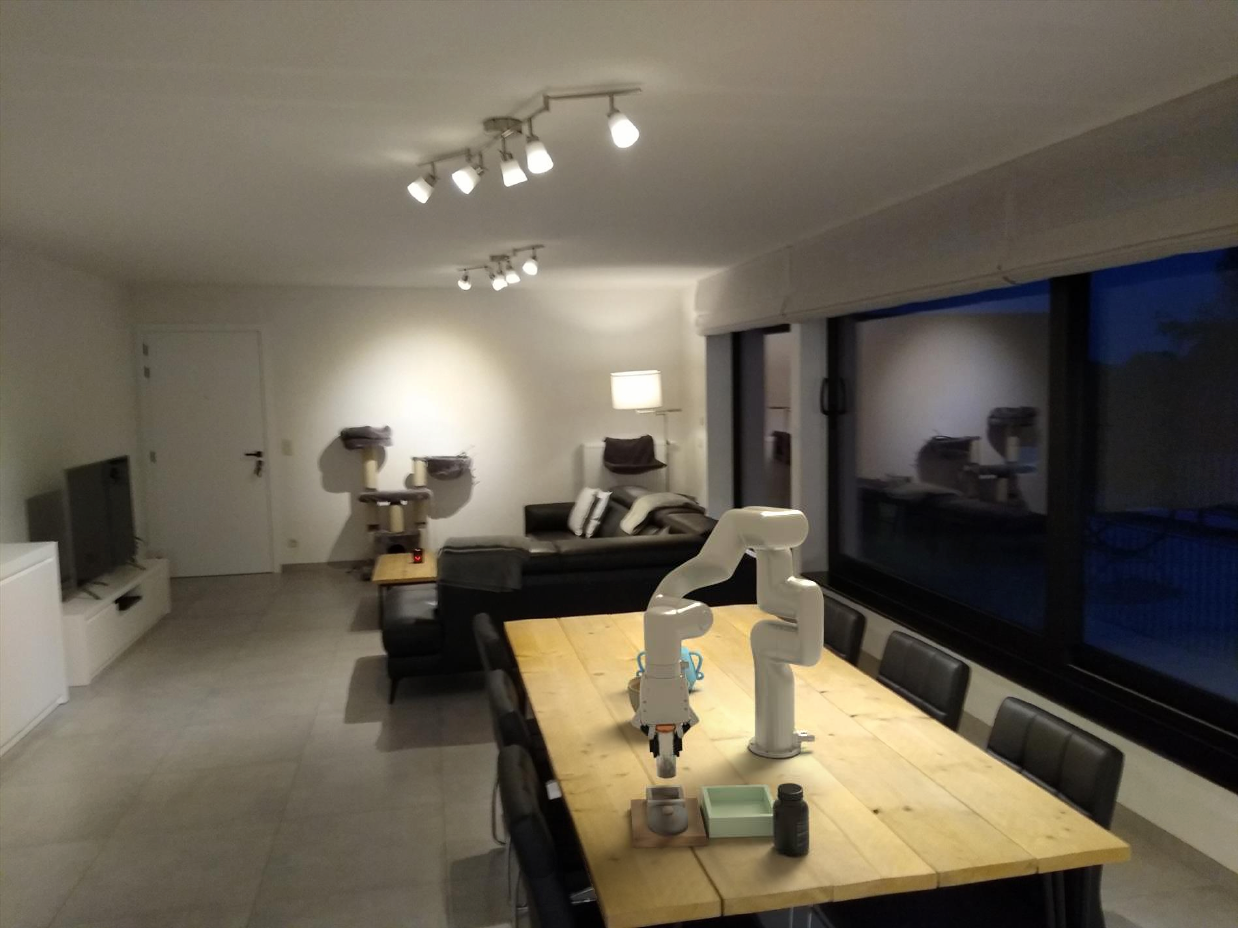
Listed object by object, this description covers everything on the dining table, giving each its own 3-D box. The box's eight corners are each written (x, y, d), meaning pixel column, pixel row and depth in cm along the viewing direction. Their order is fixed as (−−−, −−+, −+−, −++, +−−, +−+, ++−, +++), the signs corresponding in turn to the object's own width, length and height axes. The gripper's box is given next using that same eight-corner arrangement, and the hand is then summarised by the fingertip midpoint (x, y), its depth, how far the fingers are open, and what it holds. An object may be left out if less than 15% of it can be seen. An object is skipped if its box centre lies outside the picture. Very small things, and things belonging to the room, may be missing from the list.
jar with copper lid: (676, 768, 187) (675, 717, 185) (678, 778, 182) (677, 726, 181) (654, 769, 187) (653, 718, 185) (656, 779, 182) (654, 727, 181)
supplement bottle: (804, 838, 175) (804, 779, 174) (813, 857, 168) (813, 795, 167) (769, 840, 174) (769, 780, 173) (776, 858, 168) (776, 796, 167)
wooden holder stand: (697, 806, 189) (696, 781, 188) (706, 845, 173) (705, 818, 172) (630, 808, 188) (630, 783, 188) (633, 847, 173) (633, 820, 172)
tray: (767, 802, 190) (767, 784, 190) (780, 835, 176) (780, 815, 176) (701, 804, 190) (701, 785, 189) (709, 837, 176) (709, 817, 175)
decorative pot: (676, 676, 274) (675, 632, 272) (709, 690, 260) (708, 644, 259) (632, 686, 265) (631, 641, 264) (663, 701, 251) (662, 654, 250)
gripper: (702, 660, 186) (704, 745, 188) (621, 663, 186) (624, 748, 187) (706, 672, 178) (708, 760, 180) (622, 676, 178) (625, 764, 180)
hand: (666, 753), depth 184 cm, fingers closed on jar with copper lid, 4 cm apart
